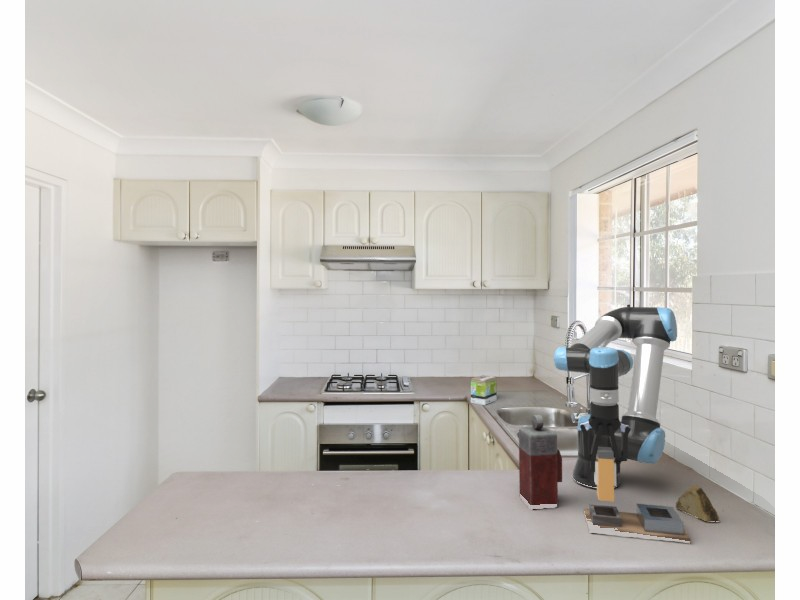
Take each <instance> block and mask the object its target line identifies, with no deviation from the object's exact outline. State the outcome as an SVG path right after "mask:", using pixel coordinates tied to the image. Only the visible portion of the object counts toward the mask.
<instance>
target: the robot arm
mask: <svg viewBox="0 0 800 600" xmlns="http://www.w3.org/2000/svg"><path fill="white" fill-rule="evenodd" d="M677 338H678V325H677V319H676V316H675V313H674V311H673V309H671V308H669V307H660V306H656V307H655V306H648V307H647V306H646V307H645V306H642V307H641V306H623V307H618V308H616V309H613V310H609V312H606V313H605V314H603V315H602V316H600V317H599V318H598V319H597V320H596V321H595V323H594V326H593V327H592V328H590V330H588V331H587V332H585V334H584V335H582V336H581V337H580V338H579V339H578V340H577V341H575V342H574V343H573V344H572V345H570V347H568V346H559V347H557V348H556V350H555V351H554V354H553V364H554V366H555V368H556V369H557V370H558V371H564V372H570V373H571V372H572V373H580V374H581V373H582V374H589V400H590V403H589V414H584V415H582V416H580V417H579V418H578V421H577V428H576V430H577V459H576V462H575V465H574V468H573V472H572V479H573V478H574V479H575V480H576V481H578V482H580V483H582V484H585V485H588V486H592V487H597V485H598V461H597V459H596V455H597V450H598V447H611V448H612V450H613V452H614V487H616V486H618V485H619V484H620V483H621V482H620V475H619V474H620V473H621V463H622V462H627V461H628V460H631V461H636V462H638V463H645V464H650V465H651V464H656V463H657V462H658V461H659V460H660V458H661V457H662V454H663V451H664V448H665V443H666V431H665V429H663V428H661V422H660V421H659V420H658V419H657V412H658V411H657V410H658V405H659V404H658V403H659V394H660V388H661V387H660V386H661V378H662V373H663V372H662V369H663V363H664V362H663V361H664V354H665V350H667V349H669V348H670V346H671V342H675V341H677ZM618 339H630V340H632V343H633V344H634V345H635V347H636V350H635V357H634V360H633V357H632V355H631V354H630V352H628V351H627V350H624V349H616V348H613V347H608V345H609V344H610V343H611V342H614V341H617V340H618ZM632 368H633V370H632ZM631 370H632V378H631V386H630V393H629V399H628V407H627V412H626V413H623V414H622V415H621V420H620V409H619V408H620V407H619V404H618V403H619V401H620V400H619V377H622V376H624V375H627V374H628V373H629V372H630V371H631ZM619 486H620V485H619ZM619 486H618V487H619Z"/></svg>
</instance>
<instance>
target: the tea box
mask: <svg viewBox="0 0 800 600" xmlns="http://www.w3.org/2000/svg"><path fill="white" fill-rule="evenodd" d="M497 380H498V379H497V376H493V375H492V376H491V375H484V374H482V375H478V376H475V377H473V378H471V379H470V403H471V404H475V405H480V406H486V405H488V404H490V403H494V402H496V401H497V400H498V399H497V398H498V397H497V396H498V395H497V393H498V392H497V391H498V389H497V385H498V384H497V383H498V381H497Z"/></svg>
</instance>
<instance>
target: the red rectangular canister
mask: <svg viewBox="0 0 800 600" xmlns="http://www.w3.org/2000/svg"><path fill="white" fill-rule="evenodd" d="M518 458H519V459H518V460H519V462H518V464H519V467H518V468H519V470H518V471H519V472H518V473H519V475H518V476H519V482H518V483H519V495H520V494H521V495H522V496H523V497H524V498H525V499H526V500H527V501H528V503H529V504H530V505H540V504H557V503H559V502H558V501H559V500H558V497H559V495H558V494H559V493H558V487H559V486H558V483H563V457H562V454H561V451H560V450H559V449H558V434H557V433H556V432H554V431H553V430H551V429H550V428H549V427H547V426H546V425H544V419H543V416H542V415H541V414H533V415H532V416H531V426H529V425H528V426H521V427H519V428H518Z"/></svg>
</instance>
